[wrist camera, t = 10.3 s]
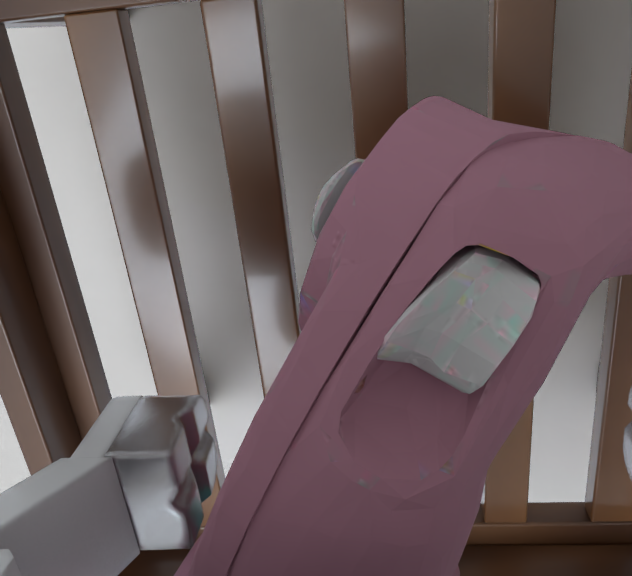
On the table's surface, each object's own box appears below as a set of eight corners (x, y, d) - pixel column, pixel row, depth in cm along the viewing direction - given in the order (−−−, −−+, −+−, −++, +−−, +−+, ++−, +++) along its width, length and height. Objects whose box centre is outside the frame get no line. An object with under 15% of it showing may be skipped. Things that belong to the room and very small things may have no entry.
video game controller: (485, 81, 11) (277, 8, 5) (743, 196, 9) (881, 288, 3) (296, 465, 15) (58, 676, 9) (454, 589, 14) (291, 938, 8)
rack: (702, -106, 16) (1535, -407, 5) (633, 391, 23) (906, 784, 11) (75, -27, 18) (-437, -97, 7) (176, 407, 25) (6, 750, 13)
